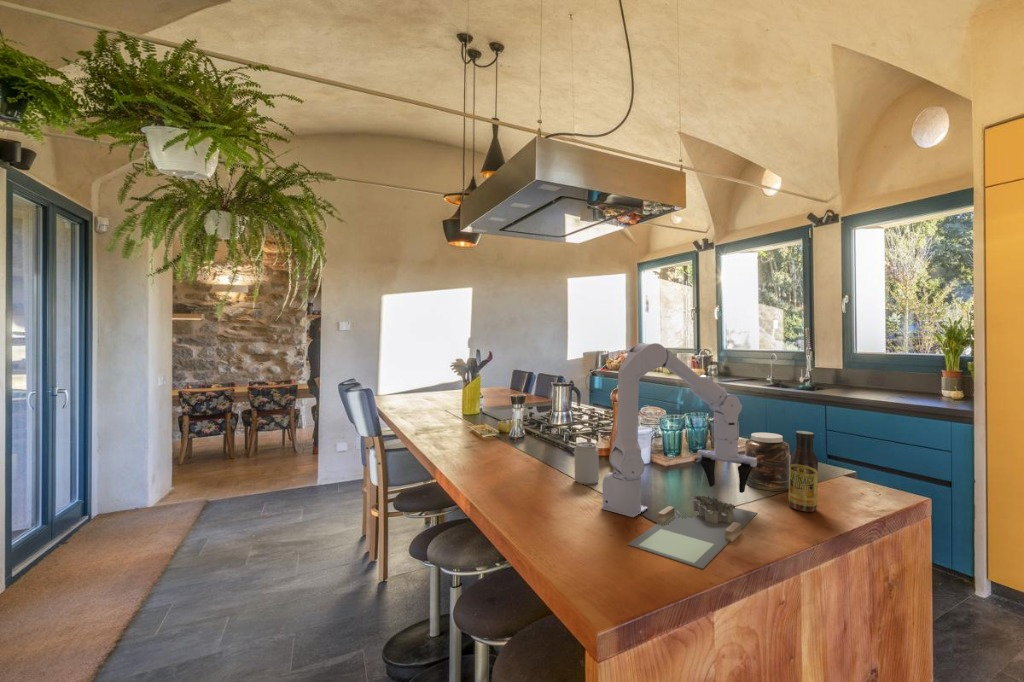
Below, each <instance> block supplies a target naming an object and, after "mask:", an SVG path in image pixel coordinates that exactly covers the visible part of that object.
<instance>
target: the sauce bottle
mask: <svg viewBox="0 0 1024 682" xmlns="http://www.w3.org/2000/svg"><path fill="white" fill-rule="evenodd" d="M794 436H795V448H794V450H793V452H792V453H791V454H790V472H789V489H788V505H789V507H790V508H791V509H794V510H796V511H800V512H804V513H805V512H806V513H813V512H815V511H816V510H817V507H818V506H817V505H818V488H819V485H818V483H819V481H818V479H819V459H818V457H817V455H816V453H815V452H814V440H815V433H814V432H811V431H806V430H796V431H795V435H794Z"/></svg>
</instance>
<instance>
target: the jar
mask: <svg viewBox="0 0 1024 682" xmlns="http://www.w3.org/2000/svg"><path fill="white" fill-rule="evenodd" d="M783 439H784V438H783V435H781V434H779V433H772V432H752V433H751V434H750V439H747V440H746V441H745V443H744V444H745V446H744V456H749V457H753V458H757V466H755V467H753V468H752V470H751V472H750V474H749V476H748V479H747V482H746V485H747V486H748V487H751V488H753V489H757V490H761V489H762V491H770V492H784V491H789V472H790V460H791V454H790V453H791V452H790V451H791V450H790V444H789V443H788V442H786V441H784V440H783Z"/></svg>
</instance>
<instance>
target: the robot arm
mask: <svg viewBox="0 0 1024 682" xmlns="http://www.w3.org/2000/svg"><path fill="white" fill-rule="evenodd" d="M659 368H662V369H663V368H664V369H667V370H669V371H670V372H671V373H673V374H674V375H675V376H677V377H679V379H681V380H683V381H684V382H685V383H687V384H689V388H690V389H689V390H690V392H691V393H692V394H693V395H695V396H696V397H697V398H699V399H700V400H701V401H703V402H704V403H706V405H708V408H709V409H710V411H713V447H714V448H713V449H714V450H705V449H698V450H697V455H696V457H697V459H701V460H699V462H700V463H699V464H700V466H701V467H702V468H703V471H704V473H705V475H706V478H707V482H708V486H709V487H710V488H712V487H714V486H715V485H716V482H715V481H716V479H715V465H716V461H720V462H726V463H731V464H737V465H738V464H739V465H738V466H737V471H738V479H739V480H738V481H739V482H738V487H739V488H738V490H739V493H740V494H743V493H745V490H746V485H747V484H746V482H747V479H748V476H749V474H750V472H751V470H752V468H753V467H755V466H757V458H753V457H749V456H745V454H739V453H738V452H739V448H738V447H739V446H738V444H739V441H738V439H739V437H738V421H739V414H740V413H741V411H742V409H743V404H742V403H741V402H740V399H739V398H738V396H736V395H735V394H731V393H728V390H727V388H726V387H724V386H723V387H722V386H720V385H719V384H718V383H717V382H715V381H714V379H715V378H714V377H713V376H711V375H706V374H701V375H699V374H697V373H696V372H695V371H694V370H693V369H692V368H691V367H689V366H688V365H687V364H686V363H684V362H683V361H682V360H681V359H680V358H679V357H678V356H676V354H674V353H673V352H672V351H671V350H670V349H668V348H666V347H664V346H663V345H662V344H660V343H657V342H655V343H646V342H639V343H636V344H635V345H633V346H632V347H631V348H630V349H628V350H627V355H626V357H625V358H624V360H623V361H622V363H621V365H620V367H619V369H618V371H617V372H618V373H617V374H618V375H617V376H618V377H617V417H616V418H617V420H616V423H617V426H616V438H615V440H613V442H612V449H611V451H610V453H609V457H608V458H609V464H610V465H611V467H613V470H612V472H610V471H609V472H607V473H606V474H605V475H604V477H603V479H602V488H601V489H602V506H601V507H600V508H601V509H602V510H605V511H607V512H608V511H609V512H613V513H616V514H620V515H621V516H622V515H623V516H626V517H630V518H635V517H636V516H639V515H641V514H642V513H643V512H645V511H646V509H647V510H648V506H646V505H643V504H642V479H641V478H642V475H643V474H644V471H645V462H644V460H643V457H642V449H641V445H640V443H639V395H640V379H641V378H643V377H644V376H645V375H647V374H648V373H649V372H650V371H655V370H657V369H659ZM641 512H642V513H641ZM638 514H639V515H638Z"/></svg>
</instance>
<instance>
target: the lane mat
mask: <svg viewBox="0 0 1024 682" xmlns="http://www.w3.org/2000/svg"><path fill="white" fill-rule="evenodd" d="M714 510H716V511H718V509H714ZM675 511H676V512H677V513H678V514H680V512H679V511H678V509H675ZM732 511H733V512H734V518H733V521H732V523H733V522H736V523H741V531H742V530H743V529H744V528H745V527H746V526H747V525H748V524H749V523H750V522H751V521H752V520H753V519H754V517H756V515H758V512H757V511H756V512H755V511H752V510H747V509H742V508H738V507H735V509H733V510H732ZM680 515H681V514H680ZM681 517H682V516H681ZM681 517H680V518H678V516H677V515H676V513H675V517H674V518H673V521H671V523H669V525H668V524H667V525H665V524H664V525H663V524H658V523H659V522H657V523H656V524H655V525H653V526H652V527H650V528H648V529H647V530H646V531H644V532H643V533H642V534H640V535H638V536H637V537H636V538H634V539H633V540H632V541H630V542H629V543H627V546H630V547H633V548H636V549H639V550H642V551H645V552H648V553H651V554H655V555H657V556H661V557H664V558H666V559H669V560H673V561H676V562H679V563H682V564H685V565H688V566H691V567H694V568H698V569H700V570H704V569H705V568H706V567H707V566H708V564H710V563H711V562H712V561H713V559H714V558H715V557H717V556H718V555H719V553H720V552H722V550H724V548H725V547H727V546H728V545H729V543H731V542H730V540H726V539H725V530H726V529H727V528H728V527H729V526H730V525H731V524H732V523H727V522H723V521H720V522H718V523H712V522H708V521H705V517H703V516H700V515H697V516H695V517H693V518H688V517H687V518H686V519H684V518H683V519H682V518H681Z"/></svg>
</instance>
